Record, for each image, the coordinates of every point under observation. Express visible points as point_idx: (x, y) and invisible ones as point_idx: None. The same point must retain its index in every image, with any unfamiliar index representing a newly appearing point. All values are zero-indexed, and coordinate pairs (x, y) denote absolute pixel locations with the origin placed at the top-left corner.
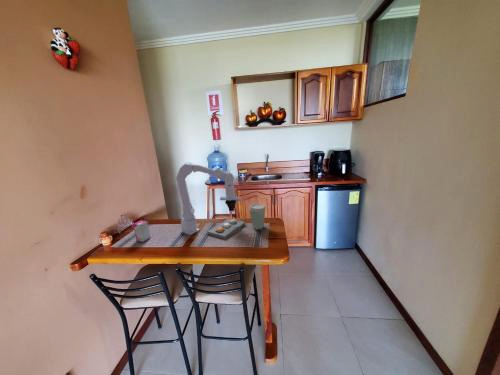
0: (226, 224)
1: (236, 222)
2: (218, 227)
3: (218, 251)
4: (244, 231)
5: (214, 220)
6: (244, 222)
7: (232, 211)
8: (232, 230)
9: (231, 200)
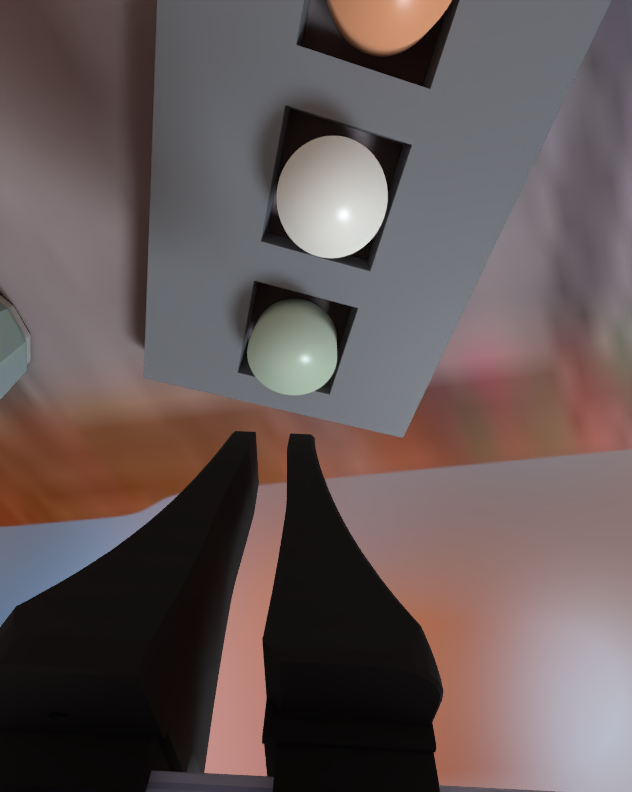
0: (332, 194)
1: None
2: (446, 8)
3: None
4: (56, 176)
5: (591, 416)
6: (145, 369)
7: (240, 431)
8: (166, 53)
9: (170, 774)
